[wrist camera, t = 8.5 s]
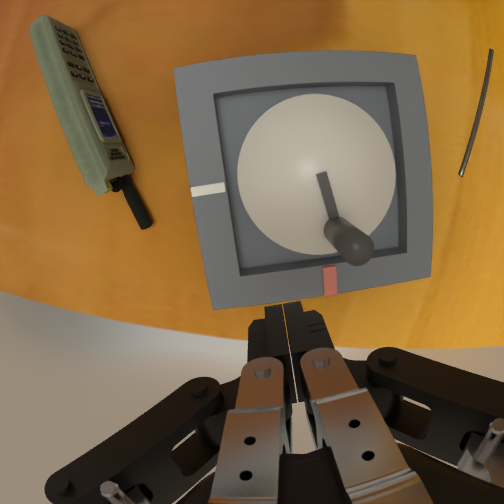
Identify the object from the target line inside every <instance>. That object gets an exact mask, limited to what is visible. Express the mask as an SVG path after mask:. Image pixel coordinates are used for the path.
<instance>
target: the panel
mask: <svg viewBox="0 0 504 504" xmlns="http://www.w3.org/2000/svg"><path fill="white" fill-rule="evenodd" d="M174 77H175V85H176V93H177V101H178V109H179V116H180V124H181V131H182V138H183V145H184V152H185V158H186V165H187V171H188V178H189V184H190V190H191V196H192V202H193V208H194V214H195V219H196V225H197V231H198V236H199V242H200V247H201V252H202V258H203V263H204V268H205V273H206V278H207V283H208V288H209V293H210V298H211V303H212V308H213V310H218V309H227V308H236V307H244V306H252V305H260V304H268V303H275V302H283V301H290V300H297V299H304V298H311V297H318V296H331V295H337V293H344V292H350V291H356V290H362V289H368V288H374V287H379V286H385V285H390V284H396V283H401V282H407V281H412V280H417V279H422V278H427V277H430V276H431V261H432V238H433V194H432V171H431V156H430V144H429V134H428V125H427V117H426V110H425V103H424V96H423V90H422V84H421V79H420V74H419V68H418V64H417V59H416V55H409V54H399V53H387V52H371V51H298V52H281V53H269V54H259V55H250V56H242V57H234V58H227V59H221V60H214V61H209V62H203V63H198V64H192V65H187V66H183V67H178V68H174ZM305 94H325V95H331V96H335V97H339V98H342V99H344V100H347V101H349V102H351V103H353V104H355V105H357V106H358V107H360V108H361V109H362V110H364V111H365V112H366V113H367V114H369V115H370V116H371V117H372V118H373V119H374V120H375V122H376V123H377V124H378V125H379V126H380V128H381V129H382V131H383V132H384V134H385V136H386V138H387V140H388V142H389V144H390V147H391V150H392V153H393V157H394V162H395V171H396V179H395V189H394V194H393V198H392V201H391V204H390V206H389V208H388V211H387V213H386V215H385V216H384V218H383V219H382V221H381V222H380V224H379V225H378V226H377V227H376V229H375V230H374V231H373V232H372V233H371V234H370V235H369V237H370V238H371V239H372V241H373V243H374V254H373V256H372V258H371V259H370V260H369V261H368V262H367V263H366V264H364V265H362V266H352V265H350V264H349V263H347V262H346V260H345V259H344V258H343V257H342V256H341V255H340V254H339V252H336V253H331V254H324V255H311V254H303V253H299V252H295V251H292V250H289V249H287V248H285V247H282V246H281V245H279V244H277V243H275V242H274V241H272V240H271V239H270V238H268V237H267V236H266V235H265V234H264V233H263V232H262V231H261V230H260V229H259V228H258V227H257V226H256V225H255V223H254V222H253V221H252V219H251V218H250V216H249V214H248V213H247V211H246V209H245V207H244V204H243V202H242V199H241V195H240V192H239V187H238V179H237V167H238V160H239V155H240V151H241V147H242V145H243V142H244V140H245V138H246V136H247V134H248V132H249V131H250V129H251V127H252V126H253V125H254V124H255V122H256V121H257V120H258V119H259V118H260V117H261V116H262V115H263V114H264V113H265V112H266V111H267V110H269V109H270V108H272V107H273V106H275V105H276V104H278V103H280V102H282V101H284V100H286V99H289V98H292V97H295V96H300V95H305Z"/></svg>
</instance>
